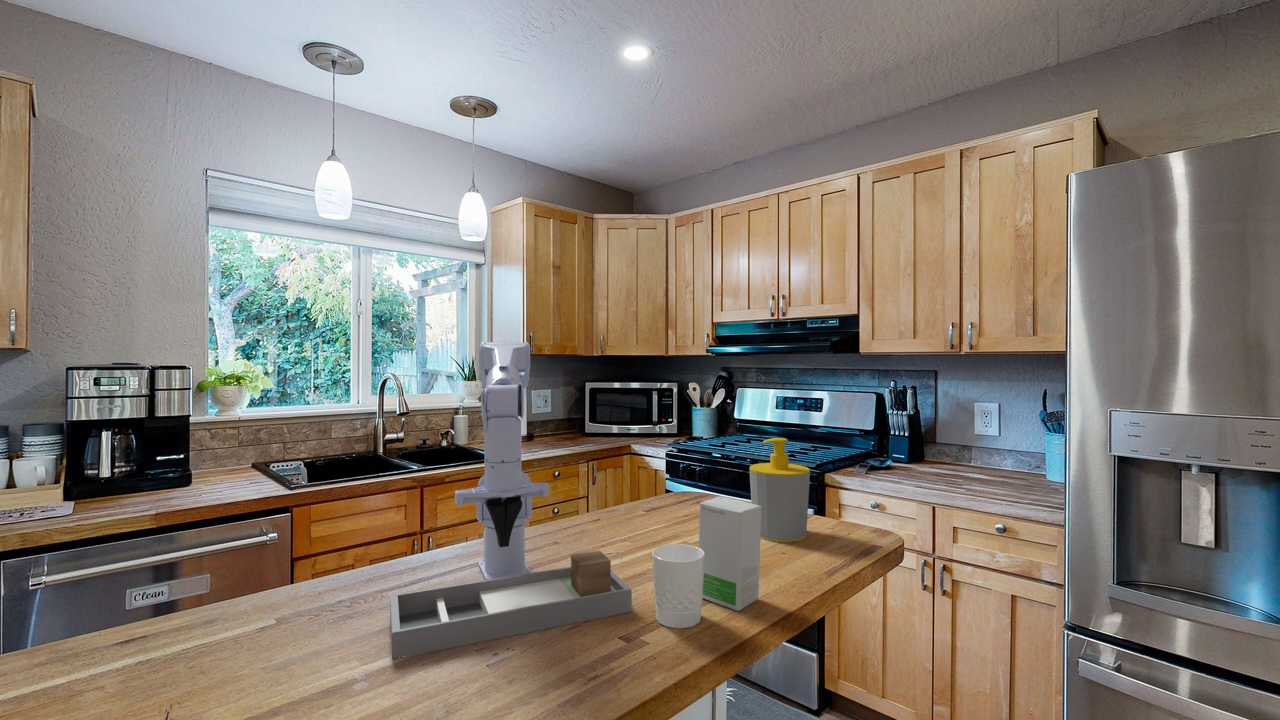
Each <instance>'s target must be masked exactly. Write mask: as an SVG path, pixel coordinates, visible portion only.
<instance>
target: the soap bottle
mask: <svg viewBox="0 0 1280 720" xmlns="http://www.w3.org/2000/svg"><path fill="white" fill-rule="evenodd" d="M787 442H789V440H788V439H787V438H786V437H785V438H784V437H772V438H768V439H765V440H763V441H762V443H763V444H771V443H772V444H773V453H770V456H769V458H770V462H763V463H762V462H759V463H755V464H752V465H750V466H749V483H750V484H749V485H750V499H751V500H750V503H751V504H755V505H759V506H761V532H760V539H761V538H762V539H761V540H764V539H766V540H765V541H768V540H769V541H770V542H774V541H776V542H775V543H792V542H791V541H796V542H799V540H800V541H803V540H805V539H804V538H806V537H807V531H808V510H809V496H810V495H809V494H810V480H811V479H810V477H811V475H810V474H811V470H810V468H809V467H808V466H807V467H806V466H805V465H801V464H795V463H789V455H788V454H787V453H785V451H786V449H785V448H786V447H785V446H786V445H785V443H787ZM802 539H803V540H802ZM769 541H768V542H769Z"/></svg>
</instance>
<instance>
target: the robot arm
mask: <svg viewBox="0 0 1280 720" xmlns="http://www.w3.org/2000/svg"><path fill="white" fill-rule="evenodd" d="M478 352H479V353H478V354H479V355H478V356H479V359H478V361H479V362H478V363H479V370H480V371H479V372H480V381H481V385H482V390H481V394H480V395H481V396H480V398H481V399H480V400H481V401H480V409H481V410H480V413H481V418H482V426H483V428H482V430H483V433H484V475H482V476H481V477H480V478H479V481H478V482H477V486H478V487H471V488H467V489H466V488H465V489H458V490H454V503H455V505H456V507H457V506H464V505H465V504H475V503H476V504H475V505H476V509H475V510H476V511H475V512H476V519H477V521H478V522H479V523H481V524H482V523H483V528H484V530H483V561H482V560H480V561H478V567H479V569H480V570H481V572H482V575H483V578H484V580H490V579H496V578H503V577H509V576H515V575H522V574H528V573H532V571H531V569H530V568H529V567H528V565H527V564H526V526H525V525H526V521H529V520H530V519H531V518H532V516H533V497H543V498H544V497H549V496H550V484H549V483H548V482H546V481H544V482H532V480H531V478H530V476H529V475H528V474H527V473H525V472H524V471H522V420H524V416H525V390H524V389H525V388H527V387H529V382H530V370H531V344H530V343H529V342H528V341H524V342H486V341H482V342H481V343H480V344H479V351H478ZM519 417H520V418H521V419H520V418H519Z"/></svg>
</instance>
